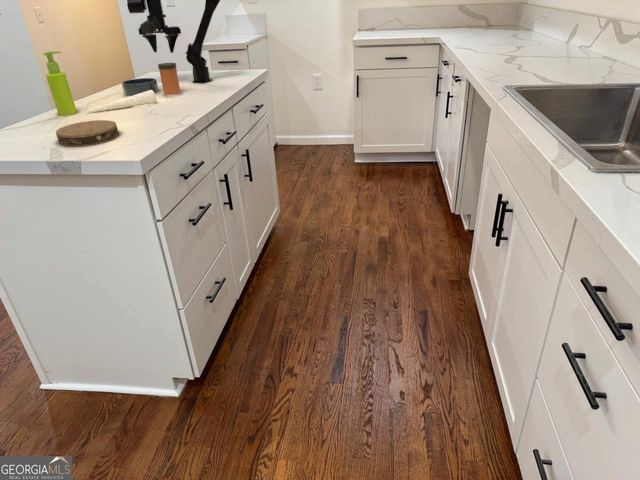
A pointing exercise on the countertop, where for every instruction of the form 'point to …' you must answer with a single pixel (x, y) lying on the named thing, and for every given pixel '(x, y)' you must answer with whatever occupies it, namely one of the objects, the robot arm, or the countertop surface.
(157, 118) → the countertop surface
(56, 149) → the countertop surface
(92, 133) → the round wood slice
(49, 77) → the soap dispenser
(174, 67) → the spice tin
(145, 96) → the unicorn horn
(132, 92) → the bowl
